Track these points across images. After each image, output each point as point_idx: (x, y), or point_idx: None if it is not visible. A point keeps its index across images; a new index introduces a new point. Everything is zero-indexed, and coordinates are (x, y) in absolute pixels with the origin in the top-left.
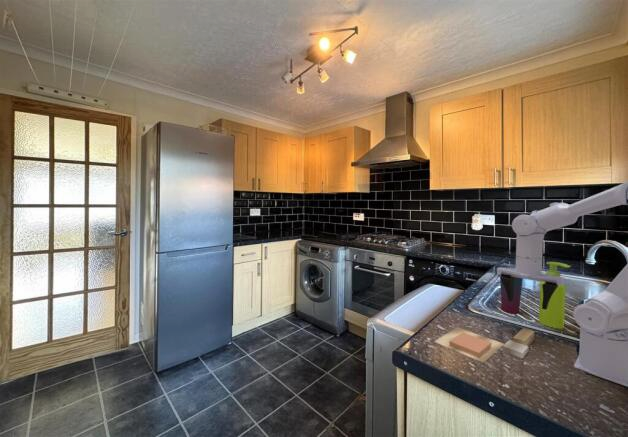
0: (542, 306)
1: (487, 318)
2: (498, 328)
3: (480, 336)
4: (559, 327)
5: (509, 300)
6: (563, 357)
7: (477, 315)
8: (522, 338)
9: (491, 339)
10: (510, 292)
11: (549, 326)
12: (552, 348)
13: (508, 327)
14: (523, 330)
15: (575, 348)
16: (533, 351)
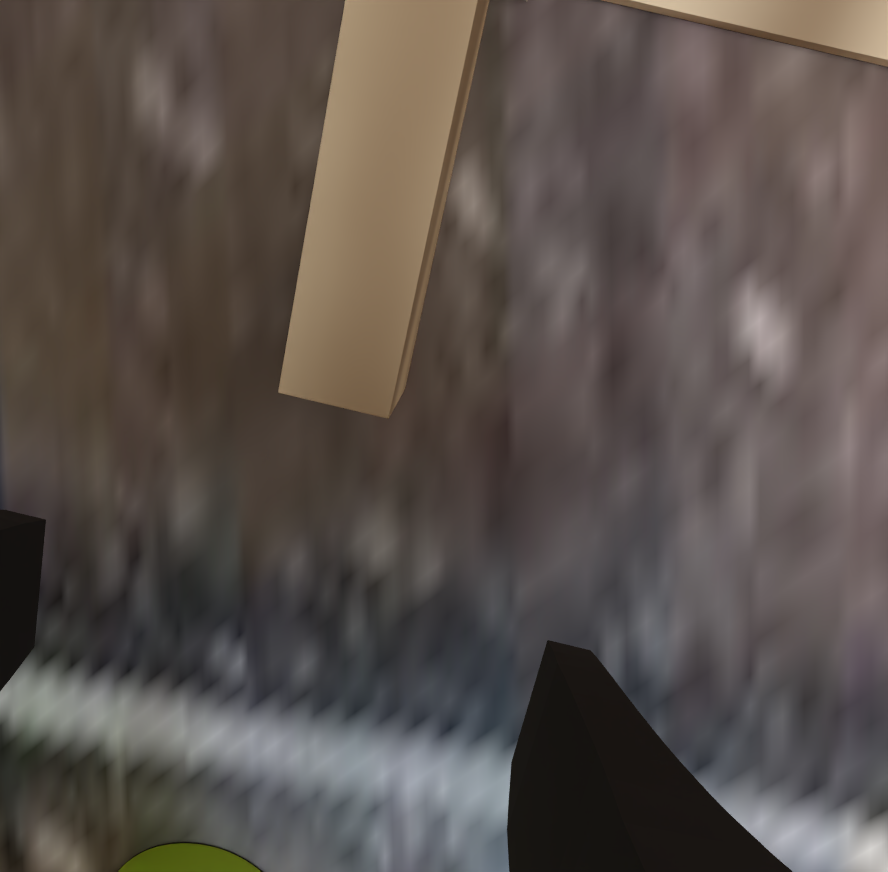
0: (7, 521)
1: (758, 724)
2: (641, 495)
3: (846, 11)
4: (128, 866)
5: (576, 651)
6: (70, 142)
7: (867, 750)
8: (386, 4)
9: (717, 17)
10: (581, 757)
11: (204, 851)
12: (160, 306)
13: (545, 595)
14: (385, 322)
15: (2, 457)
16: (305, 77)
